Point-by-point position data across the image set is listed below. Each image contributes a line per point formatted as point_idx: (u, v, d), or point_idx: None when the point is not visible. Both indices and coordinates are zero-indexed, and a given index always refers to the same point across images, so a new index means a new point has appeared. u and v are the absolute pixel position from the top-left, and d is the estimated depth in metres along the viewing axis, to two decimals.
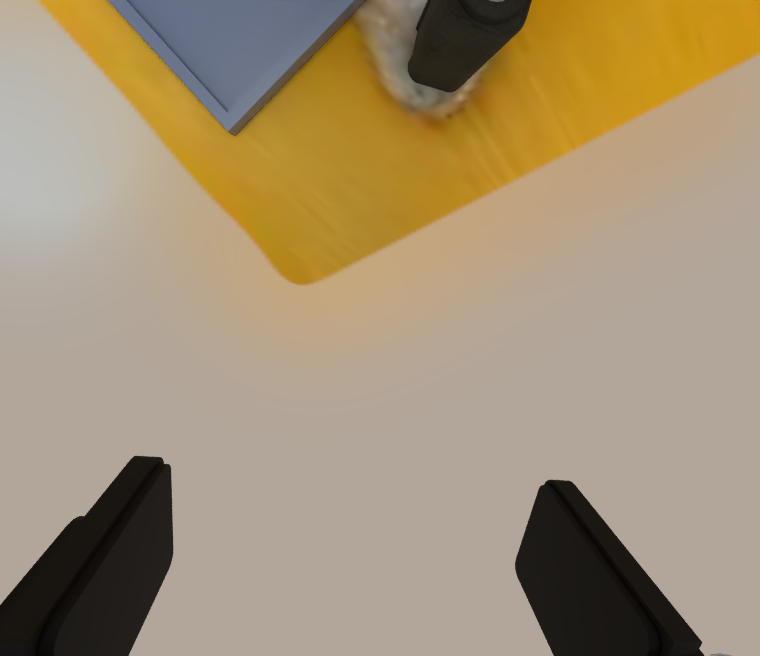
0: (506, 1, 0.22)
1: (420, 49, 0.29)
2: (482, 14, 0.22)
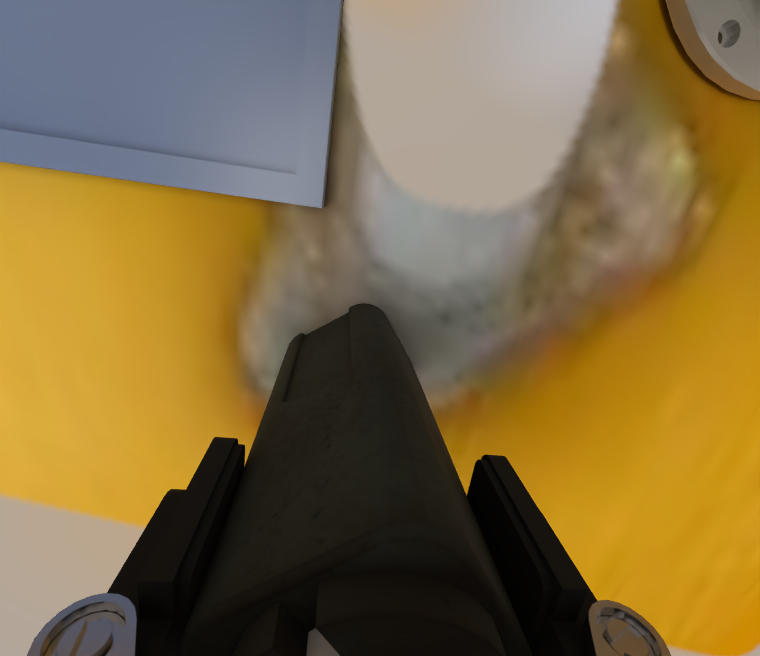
0: None
1: (268, 403, 0.13)
2: None
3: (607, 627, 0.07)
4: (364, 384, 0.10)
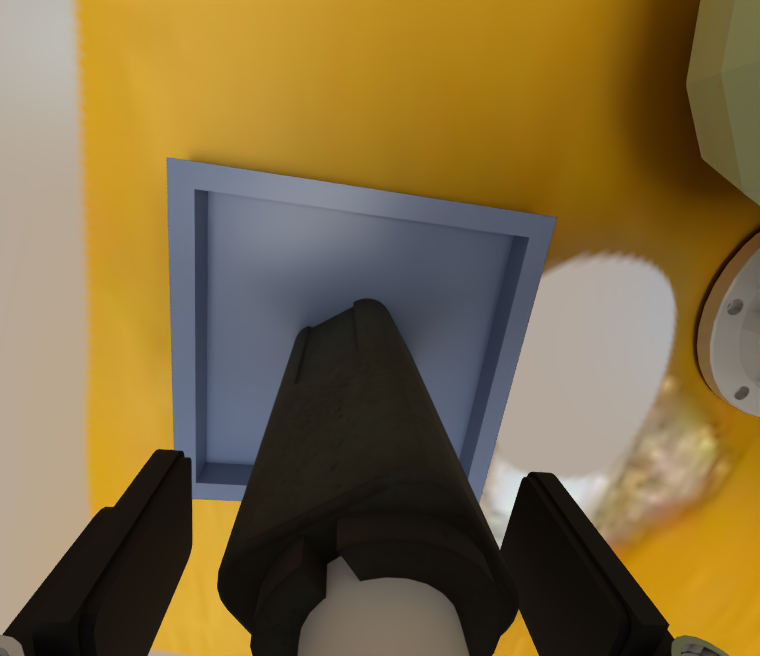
0: None
1: (280, 386, 0.14)
2: None
3: None
4: (371, 366, 0.11)
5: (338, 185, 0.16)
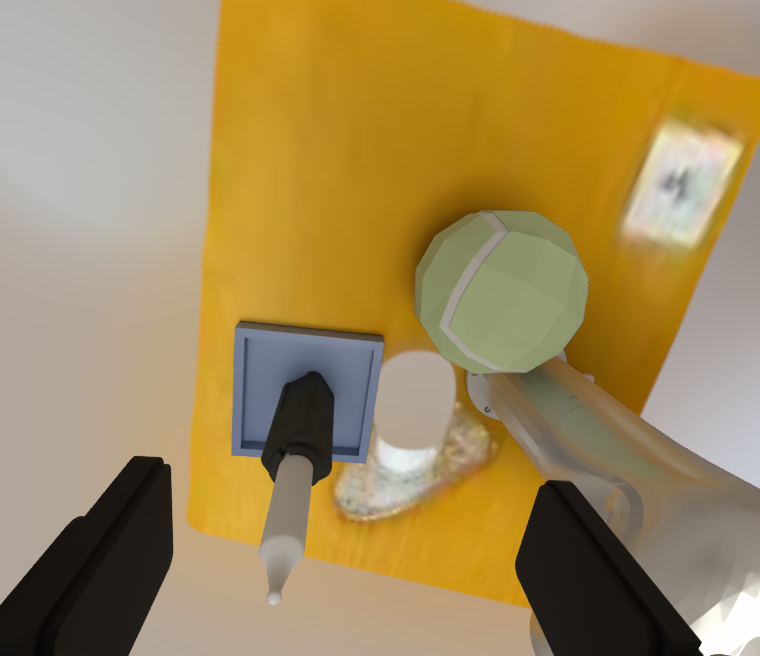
0: None
1: None
2: (272, 478, 0.33)
3: None
4: (302, 406, 0.37)
5: (297, 334, 0.42)
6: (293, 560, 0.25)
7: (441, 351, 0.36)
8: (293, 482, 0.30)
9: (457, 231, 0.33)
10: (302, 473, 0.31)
